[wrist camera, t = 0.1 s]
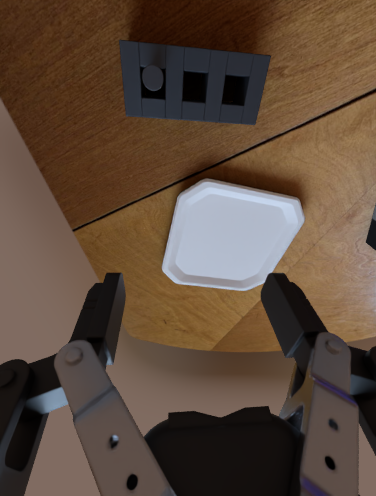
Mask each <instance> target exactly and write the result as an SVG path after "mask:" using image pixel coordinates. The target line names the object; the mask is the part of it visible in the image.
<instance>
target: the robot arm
mask: <svg viewBox="0 0 376 496" xmlns="http://www.w3.org/2000/svg"><path fill="white" fill-rule="evenodd" d="M125 297H126V295H125V287H124V280H123V274H122V273H106V276H105V279H104V282H103V283H95V284H94V286H93V287H92V288H91V289H90V290H89V291H88V294H87V297H86V299H85V302H84V305H83V309H82V310H81V313H80V315H79V318H78V321H77V323H76V326H75V329H74V332H73V334H72V337H71V339H70V341H69V342H68V344H66V345H65V346H64V347H62V348H61V350H60V351H59V352H58V353H56V354H54V355H52V356H50V357H48V358H44V359H41V360H38V361H36V362H33V363H29V364H27V362H25V361H24V360H20V359H15V360H11V361H7V362H5V363H3V364H1V365H0V496H24V494H25V491H26V487H27V484H28V481H29V477H30V474H31V470H32V467H33V464H34V461H35V457H36V454H37V451H38V448H39V444H40V441H41V438H42V434H43V431H44V428H45V425H46V421H47V418H48V415H49V412H50V411H52V410H55V409H57V408H59V407H62V406H64V405H67V404H69V406H70V409H71V412H72V414H73V422H74V426H75V428H76V431H77V434H78V437H79V439H80V442H81V444H82V447H83V450H84V452H85V455H86V458H87V460H88V463H89V465H90V468H91V471H92V473H93V476H94V478H95V481H96V484H97V487H98V489H99V492H100V494H101V496H360V495H359V494H358V429H359V428H358V427H359V426H358V424H360V426H361V428H362V430H363V432H364V434H365V436H366V438H367V440H368V442H369V444H370V445H371V448H372V449H373V451H374V453H375V455H376V346H375V347H372V348H371V349H370V350H369V351H365V350H361V349H358V348H354V347H350V346H347V344H346V343H345V342H344V341H343V340H342V339H341V338H339V337H338V336H336V335H334V334H332V333H329V332H328V331H327V329H326V327H325V326H324V324H323V323H322V321H321V320H320V318H319V316H318V315H317V313H316V312H315V310H314V309H313V307H312V306H311V305H310V302H309V301H308V299H306V296H305V294H304V293H303V291H302V290H301V289H300V288H299V287H298V286H297V285H296V284H295V283H293V282H290V281H289V280H288V278H287V276H286V275H285V274H284V273H269V274H268V276H267V278H266V280H265V283H264V285H263V288H262V290H261V301H262V303H263V306H264V308H265V311H266V313H267V315H268V318H269V320H270V322H271V325H272V327H273V329H274V332H275V334H276V337H277V339H278V341H279V344H280V346H281V348H282V351H283V353H284V355H285V357H286V358H290V357H291V358H292V357H294V358H295V361H296V363H295V365H294V369H293V373H292V377H291V381H290V385H289V390H288V394H287V398H286V401H285V403H284V405H283V407H282V410H281V412H280V414H279V416H276V415H274V414H271V413H270V410H269V407H268V406H264V407H249V408H243V409H241V410H238V411H236V412H234V413H231V414H229V415H227V416H224V417H215V416H211V415H207V414H203V413H200V412H196V411H187V412H173V413H169V415H168V419H167V420H165V421H163V422H161V423H159V424H157V425H156V426H155V427H153V428H152V429H151V430H150V431H149V432H148V433H147V434H146V435H145V436H144V437H143V436H142V434H141V432H140V430H139V428H138V426H137V425H136V423H135V421H134V419H133V417H132V415H131V414H130V412H129V410H128V408H127V407H126V405H125V403H124V401H123V399H122V397H121V396H120V394H119V392H118V390H117V389H116V387H115V386H114V385H113V384H112V382H111V380H110V378H109V376H108V374H107V373H106V371H105V370H106V365H111V364H113V363H114V358H115V352H116V347H117V342H118V337H119V331H120V327H121V321H122V316H123V311H124V306H125Z"/></svg>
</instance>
